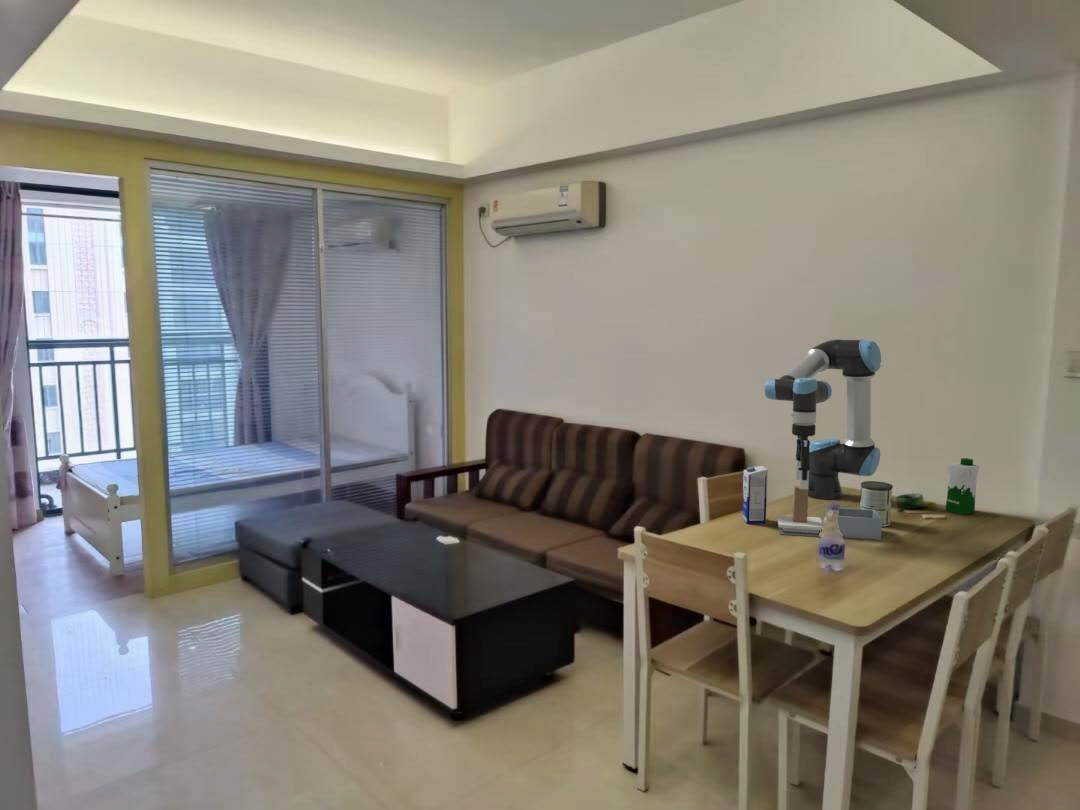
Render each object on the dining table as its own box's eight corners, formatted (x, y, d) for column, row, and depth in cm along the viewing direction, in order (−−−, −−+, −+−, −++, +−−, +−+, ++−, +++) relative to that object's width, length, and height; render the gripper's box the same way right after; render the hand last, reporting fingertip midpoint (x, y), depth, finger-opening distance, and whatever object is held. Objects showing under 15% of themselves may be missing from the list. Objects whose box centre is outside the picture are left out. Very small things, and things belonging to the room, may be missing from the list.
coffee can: (854, 518, 268) (856, 480, 266) (884, 519, 267) (886, 481, 265) (864, 526, 258) (866, 487, 256) (894, 527, 257) (897, 487, 255)
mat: (776, 521, 264) (776, 520, 264) (817, 524, 260) (817, 523, 260) (780, 534, 248) (780, 533, 248) (823, 537, 245) (823, 536, 245)
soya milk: (978, 513, 274) (982, 460, 272) (962, 516, 271) (966, 462, 268) (956, 507, 282) (960, 456, 280) (940, 510, 279) (944, 458, 276)
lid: (776, 521, 262) (777, 481, 260) (819, 524, 259) (821, 484, 257) (778, 531, 250) (780, 490, 248) (824, 534, 247) (826, 492, 245)
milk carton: (765, 523, 261) (767, 468, 259) (746, 523, 261) (748, 468, 259) (760, 518, 268) (762, 464, 266) (741, 518, 268) (743, 464, 266)
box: (830, 526, 258) (831, 507, 257) (873, 529, 254) (874, 509, 253) (835, 536, 246) (836, 516, 245) (880, 539, 243) (881, 519, 242)
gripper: (789, 417, 263) (787, 475, 266) (795, 429, 239) (793, 492, 242) (811, 418, 261) (809, 476, 264) (820, 430, 237) (817, 493, 240)
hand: (801, 484), depth 253 cm, fingers open, 13 cm apart
